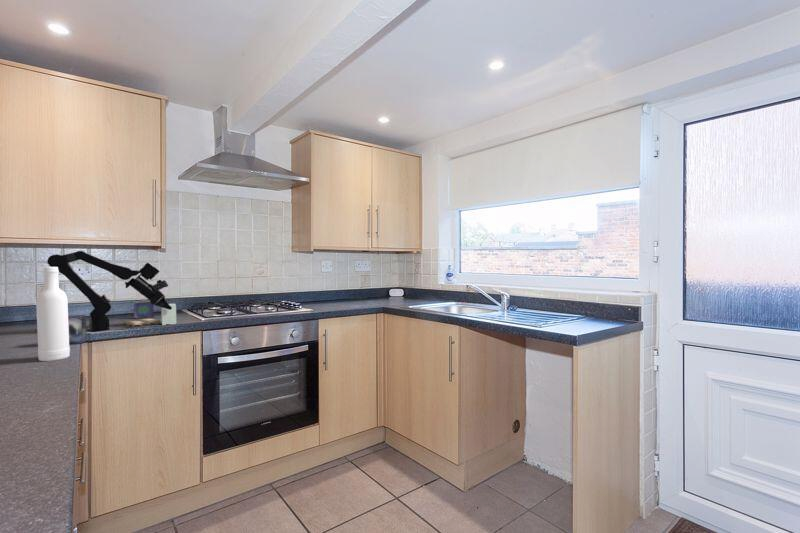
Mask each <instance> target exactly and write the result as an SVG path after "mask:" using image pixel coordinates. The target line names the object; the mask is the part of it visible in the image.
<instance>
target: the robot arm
mask: <svg viewBox="0 0 800 533" xmlns="http://www.w3.org/2000/svg"><path fill="white" fill-rule="evenodd" d="M77 261H82V262H84V263H88V264H90V265H92V266H95V267H98V268H100V269H102V270H105V271H108V273H111V274H112V275H114V276H115V277H117V278H119V279H121V280H122V281H125V282H124V284H125V289H128V288H129V287H131V288H133V289H134V290H136V291H137V292H138V293H139V294H140V295H142V296H144V298H145V299H147V301H150V303H152V304H153V306H156V307H160V308H161V307H163V308H166V309H169V310H171V309H172V307H171V306H170V305H169V304H170V303H168V302H167V300H166V299H165V294H164V293H163V292H162V291H160V290H162V289H164V288H168V287H169V284H168V282H167V281H166V279H164V280H161V279H159V280H157V281H156V283H155V284H153V285H152V283H149V282H148V280H150V281H151V280H153V278H154V277H155V276H156V275H158V274H159V273H160V270H159V269H157V268H156V267H155V266H153V265H152V264H151V263H149V262H146V263H145V264H144V265H143V266H142V268H140V269H139V270H135V269H133V270H132V269H131V268H129V267H126V266H123V265H122V266H121V265H119V264H113V263H111V262H108V261H106V260H104V259H101V258H98V257H96V256H94V255H92V254H89V253H86V252H85V251H84V250H77V251H76V252H75V251H74V252H70V253H67V254H62V255H61V254H52V255H50V256H49V257H48V258H47V262H46V263H47V264H48V267H58V270H59V273H60V274H61V275H63V276H65V278H66V279H67V280H68V281H70V282H71V283H72V284H73V286H74V287H76V288H77V289H78V291H79V292H81V293H82V294H83V295H84V296H85V297H86V298H87V300H89V302H90V304H91V306H92V307H93V308H94V309H93V310H91V311H90V313H89V317H88V323H89V324H88V325H89V326H88V327H89V328H88V329H87V330H88V331H89V330H90V331H89V332H99V331H98V330H101V331H106V330H107V329H108V330H110V329H111V328H110V318H109V317H108V316H109V315H106V314H107V313H108V312H110V311H111V309H112V303H111V300H110V299H109V298H107V296H106V294H102V295H100V294H98V293H97V292H96V291H95V290H94V289H93V288H92V287H91V286H90V285H89V284H88V283H87V282H86V281H85V280H84V279H83V278H82V277H81V276H80V275H79V274H78V273H77V272H75V270H74V269H73V267H72V266H71V264H70V263H73V262H77ZM135 276H136V277H135ZM134 277H135V278H134ZM126 280H128V281H126Z"/></svg>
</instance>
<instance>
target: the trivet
mask: <svg viewBox="0 0 800 533" xmlns="http://www.w3.org/2000/svg"><path fill="white" fill-rule="evenodd" d="M158 322H160V323H161V320H159V319H154V318H143V319H134V320H127V321H122V325H124V324H127V325H126V326H129V325H133V326H132V327H135V326H134V325H140V326H143V325H142V324H147V325H151V324H150V323H155V324H159V323H158Z"/></svg>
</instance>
